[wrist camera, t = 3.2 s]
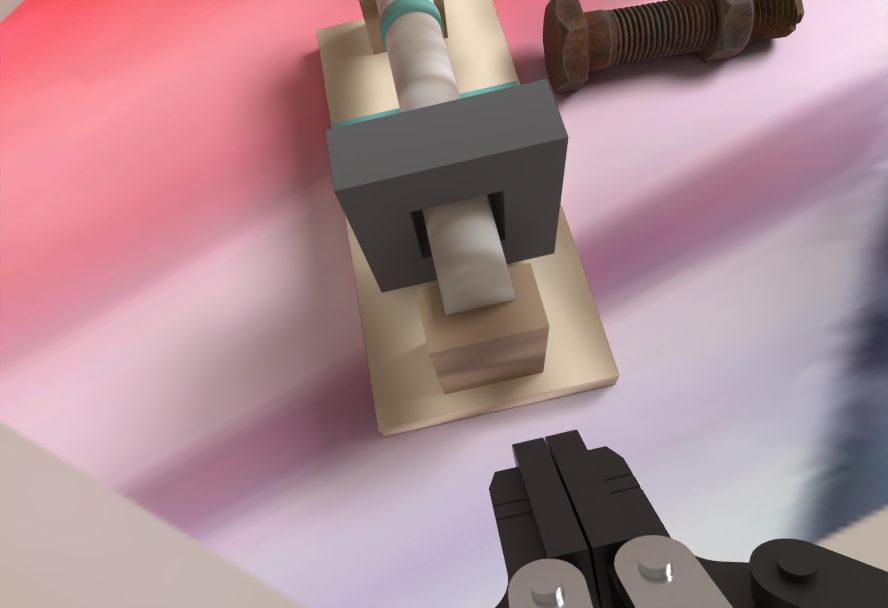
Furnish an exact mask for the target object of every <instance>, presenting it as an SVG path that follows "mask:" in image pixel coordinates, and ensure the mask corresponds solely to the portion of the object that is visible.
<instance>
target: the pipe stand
mask: <svg viewBox="0 0 888 608" xmlns="http://www.w3.org/2000/svg"><path fill="white" fill-rule="evenodd" d="M359 2H360V5H361V9H362V13H363V17H364V19H361V20H357V21H353V22H348V23H344V24H340V25H335V26H331V27H327V28H323V29H318V30H316V32H317V39H318V45H319V52H320V58H321V64H322V71H323V77H324V84H325V90H326V97H327V103H328V109H329V116H330V122H331V129H332V128H336V127H341V126H345V125H349V124H354V123H358V122H362V121H366V120H371V119H375V118H379V117H384V116H388V115H392V114H396V113H401V112H405V111H409V110H414V109H418V108H422V107H427V106H431V105H435V104H439V103H444V102H448V101H452V100H457V99H461V98H465V97H470V96H474V95H478V94H482V93H487V92H491V91H495V90H500V89H504V88H508V87H513V86H517V85H521V84H520V82H519V79H518V76H517V73H516V70H515V67H514V64H513V61H512V58H511V55H510V52H509V49H508V46H507V43H506V40H505V37H504V34H503V32H502V29H501V26H500V23H499V20H498V17H497V14H496V11H495V8H494V5H493V2H492V0H359ZM422 211H423V216H424V220H425V225H426V229H427V234H428V238H429V243H430V247H431V252H432V256H433V261H434V266H435V270H436V275H437V279H438V280H436V281H432V282H427V283H423V284H419V285H414V286H410V287H405V288H401V289H397V290H392V291H388V292H384V293H382V292H381V290H380V288H379V286H378V284H377V282H376V280H375V277H374V275H373V273H372V271H371V269H370V267H369V265H368V262H367V260H366V258H365V256H364V254H363V252H362V249H361V247H360V245H359V243H358V241H357V239H356V237H355V234H354V232H353V230H352V228H351V226H350V224H349V221H348V219H347V217H346V215H345V219H346V225H347V232H348V238H349V245H350V251H351V258H352V264H353V270H354V277H355V283H356V290H357V296H358V303H359V309H360V315H361V322H362V328H363V335H364V341H365V348H366V354H367V361H368V367H369V373H370V380H371V386H372V393H373V399H374V406H375V412H376V418H377V425H378V430H379V431H380V432H381V434H382V435H383V436H389V435H393V434H398V433H402V432H407V431H411V430H415V429H420V428H424V427H429V426H433V425H438V424H442V423H446V422H451V421H455V420H460V419H464V418H469V417H473V416H478V415H482V414H486V413H491V412H495V411H500V410H504V409H509V408H513V407H517V406H522V405H526V404H531V403H535V402H540V401H544V400H548V399H553V398H557V397H562V396H566V395H571V394H575V393H579V392H584V391H588V390H593V389H597V388H602V387H606V386H610V385H615V383H616V381H617V379H618V377H619V373H618V370H617V367H616V364H615V361H614V358H613V355H612V352H611V349H610V346H609V343H608V341H607V338H606V335H605V332H604V329H603V326H602V323H601V320H600V317H599V314H598V311H597V308H596V305H595V302H594V299H593V296H592V293H591V291H590V288H589V285H588V282H587V279H586V276H585V273H584V270H583V267H582V264H581V261H580V258H579V255H578V252H577V249H576V246H575V243H574V240H573V238H572V235H571V232H570V229H569V226H568V223H567V220H566V217H565V214H564V211H563V208H562V205H561V202H560V210H559V219H558V227H557V236H556V244H555V252H554V254H550V255H545V256H541V257H537V258H532V259H528V260H523V261H519V262H515V263H510V264H506V260H505V257H504V253H503V249H502V246H501V242H500V239H499V235H498V232H497V228H496V224H495V221H494V217H493V214H492V210H491V206H490V203H489V199H488V196H487V195H483V196H478V197H474V198H470V199H465V200H461V201H457V202H452V203H448V204H444V205H439V206H435V207H431V208H426V209H422Z"/></svg>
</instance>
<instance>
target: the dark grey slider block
mask: <svg viewBox="0 0 888 608" xmlns="http://www.w3.org/2000/svg"><path fill="white" fill-rule="evenodd" d="M325 132H326V138H327V145H328V152H329V158H330V165H331V172H332V179H333V185H334V191H335V193H336V196H337V198H338V200H339V202H340V204H341V206H342V209H343V211H344V213H345V215H346V217H347V219H348V221H349V224H350V226H351V228H352V230H353V232H354V234H355V237H356V239H357V241H358V243H359V245H360V247H361V249H362V252H363V254H364V256H365V258H366V260H367V262H368V265H369V267H370V269H371V271H372V273H373V275H374V277H375V280H376V282H377V284H378V286H379V288H380V290H381V292H382V293H384V292H388V291H392V290H397V289H401V288H405V287H410V286H414V285H419V284H423V283H427V282H432V281H436V280H438V279H437V275H436V270H435V266H434V261H433V256H432V252H431V247H430V243H429V238H428V234H427V229H426V225H425V220H424V216H423V211H422V209H426V208H431V207H435V206H439V205H444V204H448V203H452V202H457V201H461V200H465V199H470V198H474V197H478V196H483V195H487V196H488V199H489V203H490V206H491V210H492V214H493V217H494V221H495V224H496V228H497V232H498V235H499V239H500V242H501V246H502V249H503V253H504V257H505V260H506V264H510V263H515V262H519V261H523V260H528V259H532V258H537V257H541V256H545V255H550V254H554V252H555V244H556V236H557V227H558V219H559V210H560V202H561V194H562V185H563V177H564V169H565V160H566V152H567V144H568V135H567V132H566V129H565V127H564V124H563V121H562V118H561V116H560V113H559V110H558V108H557V105H556V102H555V99H554V97H553V94H552V91H551V88H550V86H549V83H548V80H547V79H543V80H538V81H534V82H530V83H525V84H521V85H517V86H513V87H508V88H504V89H500V90H495V91H491V92H487V93H482V94H478V95H474V96H470V97H465V98H461V99H457V100H452V101H448V102H444V103H439V104H435V105H431V106H427V107H422V108H418V109H414V110H409V111H405V112H401V113H396V114H392V115H388V116H384V117H379V118H375V119H371V120H366V121H362V122H358V123H354V124H349V125H345V126H341V127H336V128H332V129H328V130H325Z"/></svg>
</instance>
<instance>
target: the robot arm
mask: <svg viewBox="0 0 888 608" xmlns="http://www.w3.org/2000/svg"><path fill="white" fill-rule="evenodd" d="M512 448H513V453H514V458H515V463H516V467H515V468H510V469H506V470H502V471H497V472H495V473H494V476H493V479H492V482H491V485H490V487H489V491H490V495H491V500H492V505H493V509H494V514H495V518H496V523H497V527H498V532H499V536H500V541H501V545H502V550H503V555H504V559H505V564H506V568H507V573H508V586H507V590H506V593H505V595H504V597H503V598H502V600H501V601H500V603H499V604H498V605H497V606H496V607H495V608H888V572H886V571H884V570H881V569H878V568H876V567H873V566H871V565H868V564H865V563H863V562H860V561H857V560H854V559H852V558H850V557H847V556H844V555H842V554H839V553H836V552H834V551H831V550H828V549H826V548H823V547H820V546H818V545H815V544H812V543H809V542H806V541H802V540H797V539H775V540H771V541H767V542H765V543H763V544H761V545H760V546H758V547H757V548H756V549H755V550H754V551H753V553H752V555H751V557H750V563H745V562H721V561H712V560H707V559H703V558H700V557H697V556H695V555H693V553H692V552H691V551H690V550H689V549H688V548H687V547H686V546H685V545H683V544H682V543H680V542H678V541H676V540H674V539H672V538H671V537H670V535H669V534H668V532H667V530H666V529H665V527H664V525H663V524H662V522H661V520H660V519H659V517H658V515H657V514H656V512H655V510H654V508H653V507H652V505H651V503H650V502H649V500H648V498H647V497H646V495H645V493H644V492H643V490H642V489H641V488H640V485H639V483H638V482H637V480H636V478H635V477H634V476H633V474H632V472H631V470H630V468H629V467H628V465H627V463H626V462H625V460H624V458H623V457H621V456H620V455H618V454H617V453H615V452H614V451H612V450H611V449H609V448H608V447H606V446H605V447H601V448H596V449H592V450H587V448H586V446H585V444H584V442H583V440H582V438H581V436H580V434H579V432H578V431H577V430H573V431H568V432H564V433H560V434H555V435H551V436H547V437H545V440H544V438H539V439H534V440H530V441H526V442H521V443H517V444H513V445H512Z"/></svg>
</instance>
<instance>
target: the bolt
mask: <svg viewBox="0 0 888 608" xmlns="http://www.w3.org/2000/svg"><path fill="white" fill-rule="evenodd" d="M803 15H804V9H803V4H802V0H668V1H662V2H657V3H651V4H650V3H648V4H646V5H645V4H642V5H640V6H638V5H637V6H635V7H634V6H631V7H625V8H619V9H614V10H606V11H604V10H596V11H590V12H583V10H582V8H581V5H580V2H579V0H551V1H550V2H549V3H548V4H547V6H546V9H545V15H544V24H543V45H544V53H545V62H546V67H547V72H548V75H549V79H550V82H551V84H552V86H553V88H554V89H555V90H556V91H557V92H558V93H559V94H562V93H568V92H574V91H578V90H579V89H580V87H581V86H582V85H583V84H584V83H585V82H586V81H587V80H588V71H594V70H600V69H605V68H607V67H609V66H611V65H617V64H619V65H621V64H622V63H623V64H626V63H632V62H637V61H642V60H648V59H654V58H659V57H665V56H666V57H668V56H670V55H672V56H674V55H679V54H681V53H682V54H685V53H691V52H696V51H697V53H698V55H699V56H700V57H701V58H702V59H703V60H705V61H706V62H713V61H719V60H725V59H728V58H731V57H733V56H735V55H737V54H738V53H740V52H741V51H742V50H743V49H744V48H745V46H746V44H747V43H749V42H755V41H761V40H766V39H767V40H768V39H773V38H781V37H786V36H788V35H789V34H791V33H792V32H793V31H795V29H796V24H798V23H800V22H801V20H802V18H803Z"/></svg>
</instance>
